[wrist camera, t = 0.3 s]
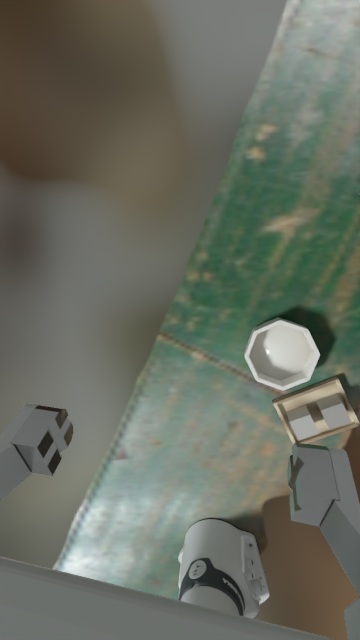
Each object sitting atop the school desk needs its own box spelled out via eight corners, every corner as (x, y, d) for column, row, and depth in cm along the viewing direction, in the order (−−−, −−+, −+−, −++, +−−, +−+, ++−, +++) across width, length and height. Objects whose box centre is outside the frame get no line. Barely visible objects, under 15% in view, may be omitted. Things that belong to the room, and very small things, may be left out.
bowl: (323, 365, 61) (328, 372, 57) (263, 389, 64) (264, 397, 60) (295, 308, 60) (299, 311, 56) (236, 335, 63) (235, 339, 59)
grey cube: (314, 422, 62) (319, 433, 58) (294, 429, 63) (298, 440, 59) (305, 404, 62) (310, 414, 58) (286, 411, 63) (289, 422, 59)
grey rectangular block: (344, 411, 61) (351, 422, 56) (324, 419, 62) (330, 429, 57) (335, 393, 61) (342, 402, 56) (315, 401, 61) (320, 410, 57)
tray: (357, 421, 61) (360, 425, 59) (293, 443, 64) (294, 447, 63) (335, 376, 61) (338, 378, 59) (272, 400, 64) (273, 403, 62)
